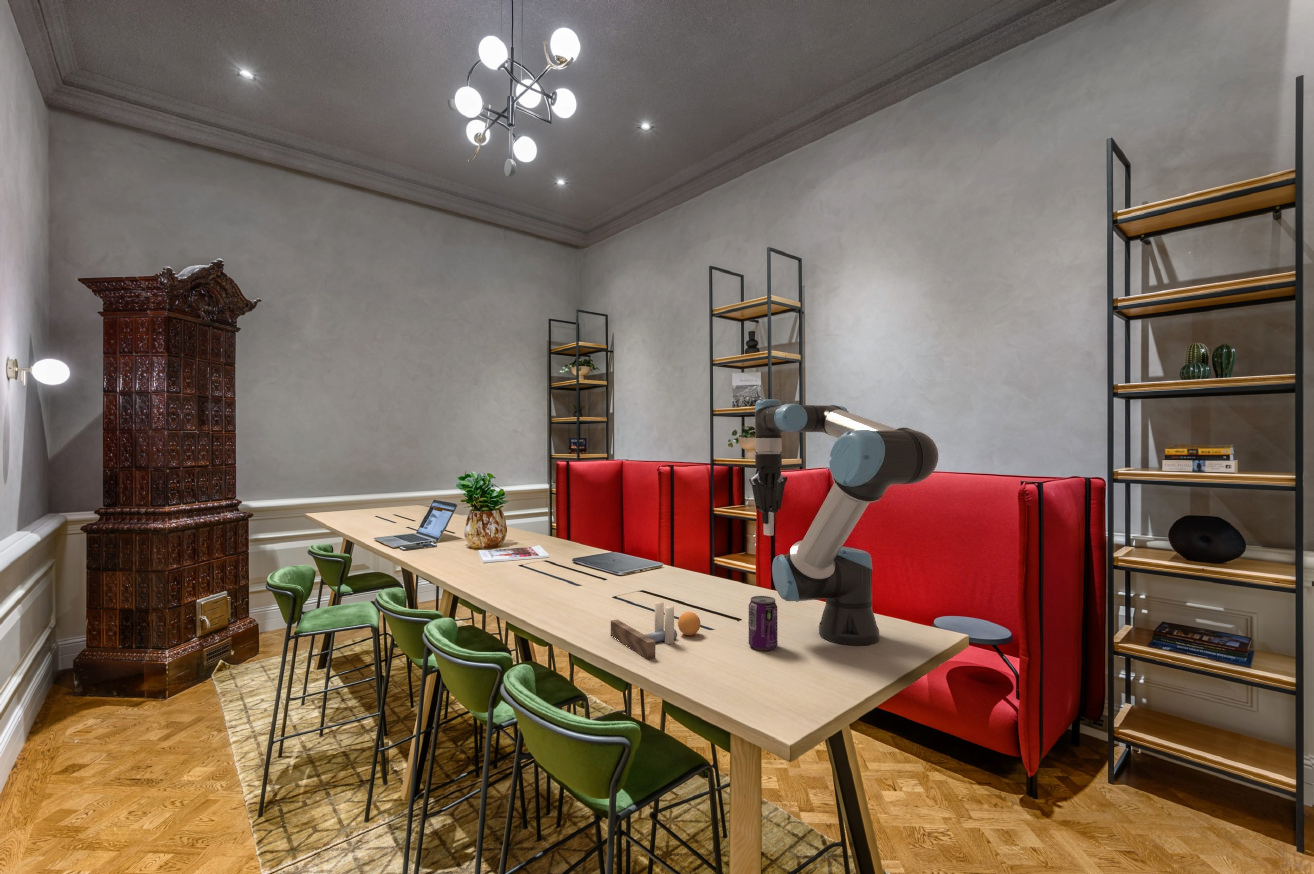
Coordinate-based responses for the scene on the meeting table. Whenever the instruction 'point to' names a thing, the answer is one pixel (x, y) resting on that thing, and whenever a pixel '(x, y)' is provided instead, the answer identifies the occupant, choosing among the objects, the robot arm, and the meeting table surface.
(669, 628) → the rear pin left
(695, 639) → the meeting table surface
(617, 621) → the walnut rail
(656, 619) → the rear pin right
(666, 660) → the meeting table surface
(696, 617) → the ball
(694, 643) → the meeting table surface
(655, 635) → the front pin
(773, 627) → the beverage can
